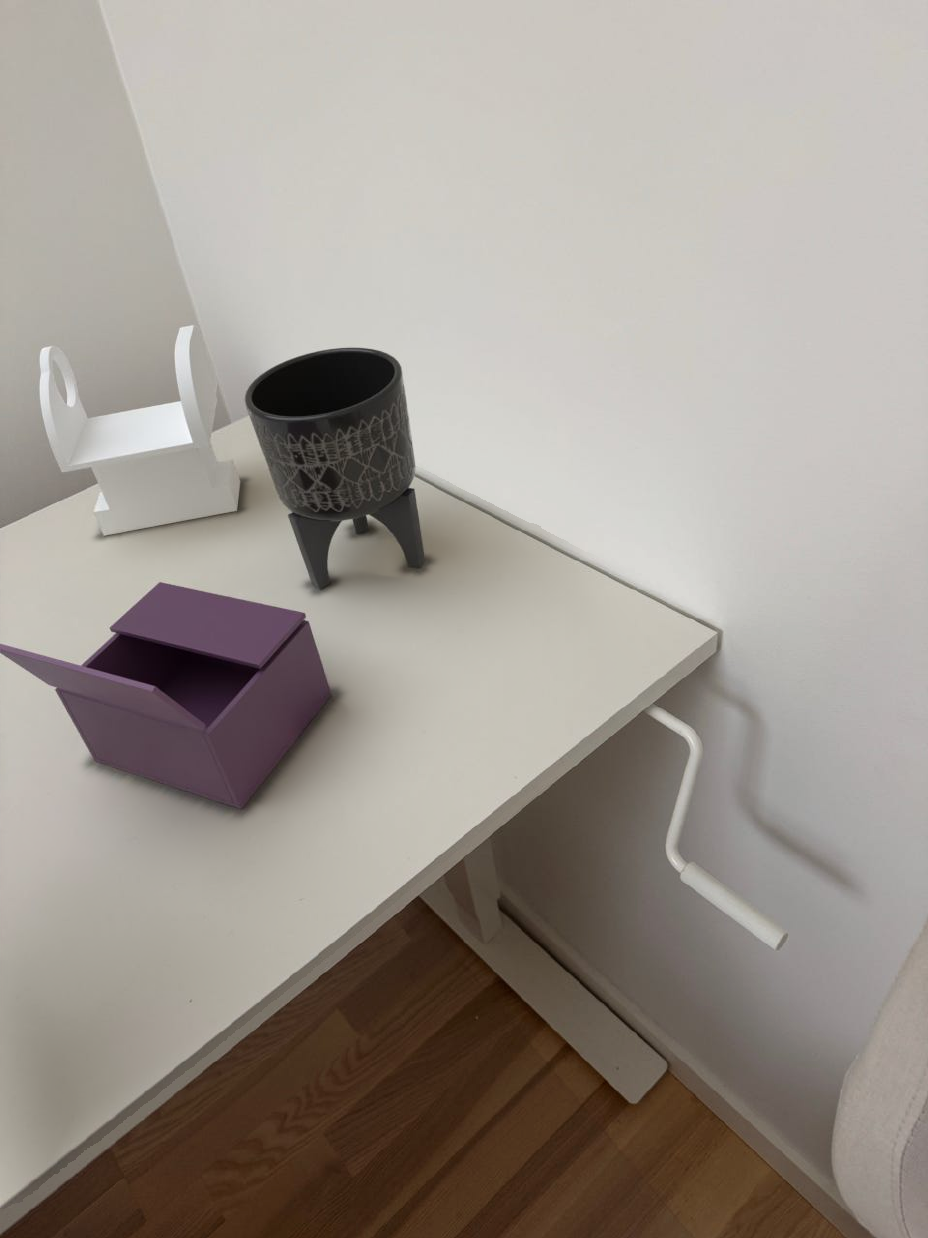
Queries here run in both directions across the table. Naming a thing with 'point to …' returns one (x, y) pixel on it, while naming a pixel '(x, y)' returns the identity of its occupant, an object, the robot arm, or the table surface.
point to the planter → (338, 448)
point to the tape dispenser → (145, 445)
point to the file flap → (102, 686)
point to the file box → (205, 691)
